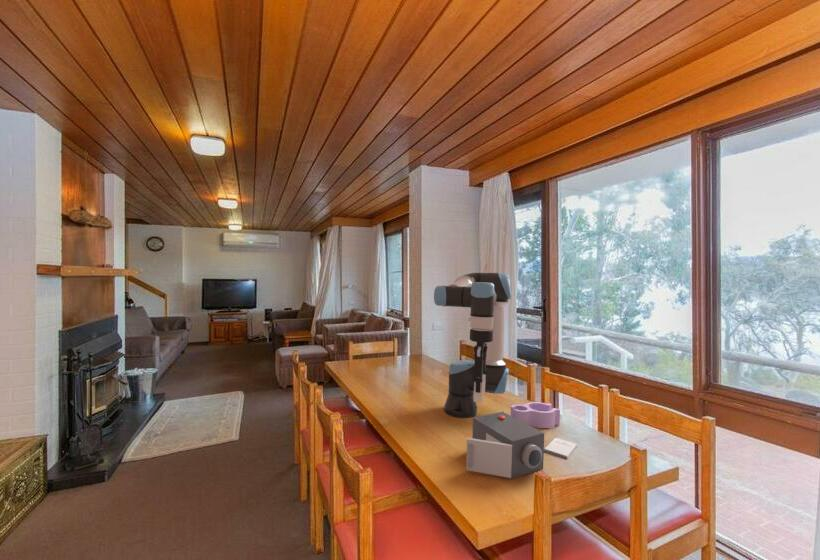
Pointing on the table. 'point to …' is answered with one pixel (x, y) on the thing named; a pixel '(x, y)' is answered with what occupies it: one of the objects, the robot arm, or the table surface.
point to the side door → (489, 457)
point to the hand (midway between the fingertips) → (479, 397)
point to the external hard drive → (560, 448)
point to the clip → (537, 414)
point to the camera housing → (513, 440)
